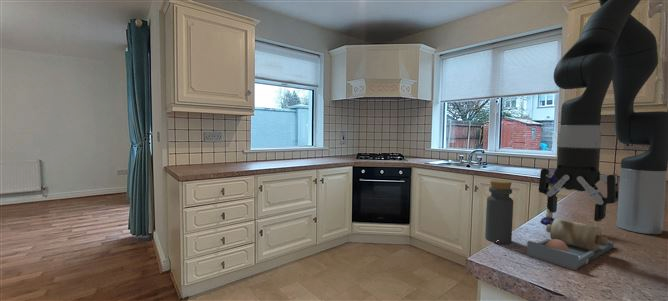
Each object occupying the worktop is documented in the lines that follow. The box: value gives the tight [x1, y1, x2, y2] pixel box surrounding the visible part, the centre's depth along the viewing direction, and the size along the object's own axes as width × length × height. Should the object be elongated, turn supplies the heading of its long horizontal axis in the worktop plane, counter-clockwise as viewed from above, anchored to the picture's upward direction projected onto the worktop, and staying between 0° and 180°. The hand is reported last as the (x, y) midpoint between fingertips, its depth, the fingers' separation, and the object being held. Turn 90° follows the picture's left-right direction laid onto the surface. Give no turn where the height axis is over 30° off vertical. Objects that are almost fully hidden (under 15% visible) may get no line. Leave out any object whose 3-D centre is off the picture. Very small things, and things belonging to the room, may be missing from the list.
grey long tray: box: [526, 238, 615, 271], centre depth 71 cm, size 23×9×3 cm, turn 124°
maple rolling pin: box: [545, 217, 609, 252], centre depth 71 cm, size 11×6×6 cm, turn 34°
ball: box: [546, 239, 568, 252], centre depth 66 cm, size 4×4×4 cm
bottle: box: [484, 179, 514, 245], centre depth 77 cm, size 6×6×15 cm
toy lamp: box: [540, 167, 559, 226], centre depth 91 cm, size 5×5×17 cm
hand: (574, 216), depth 70 cm, fingers open, 8 cm apart
